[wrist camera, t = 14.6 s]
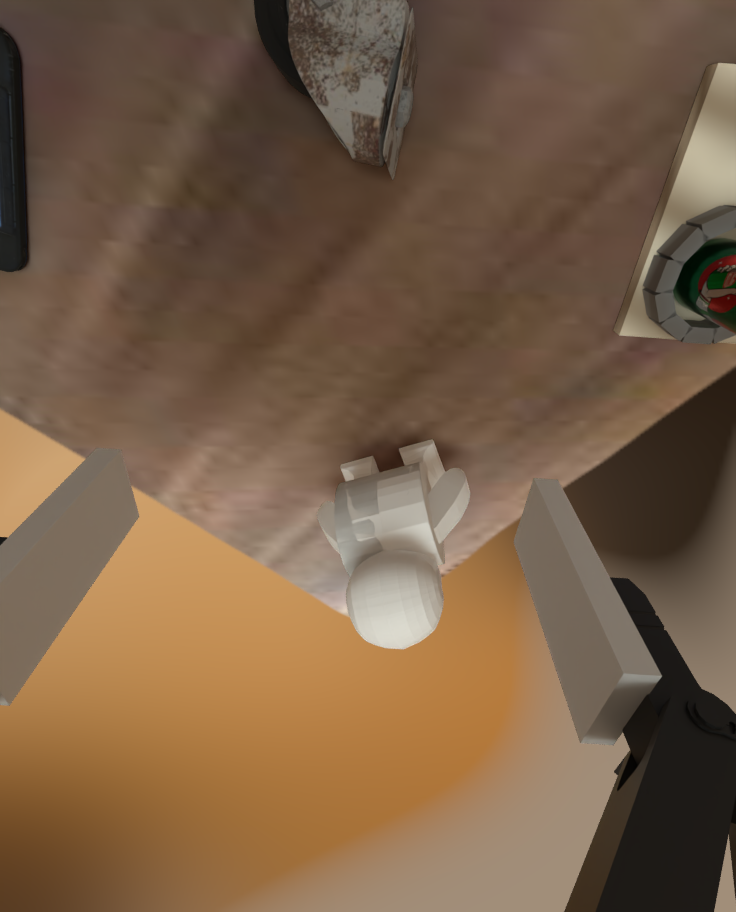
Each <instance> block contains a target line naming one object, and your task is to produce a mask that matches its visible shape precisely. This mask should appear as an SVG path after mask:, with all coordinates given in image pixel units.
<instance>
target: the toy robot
mask: <svg viewBox="0 0 736 912" xmlns="http://www.w3.org/2000/svg"><path fill="white" fill-rule="evenodd" d="M399 452H400V454H401V457H402V460H403V462H404V465H405V466H402V467H398V468H394V469H391V470H387V471H383V472H379V470H378V467H377V464H376V462H375V459H374V457H373V456H369V457H366V458H362V459H359V460H355V461H351V462H348V463H344V464H341V466H340V468H341V470H342V473H343V476H344V478H345V481H346V482H342V483H339V484H338V487H337V490H336V495H335V503H333V502H331V501H325V502H324V503H323V504H322V505H321V506H320V508H319V509H318V512H317V519H318V521H319V523H320V525H321V527H322V529H323V531H324V533H325V535H326V537H327V539H328V541H329V542H330V544H331V545H332V546H333V548H334V549H335V550H336V551H337V552H338V553H340V556H341V559H342V562H343V564H344V567H345V569H346V571H347V573H348V575H349V577H350V579H349V583H348V587H347V591H346V604H347V609H348V613H349V616H350V618H351V621H352V623H353V625H354V627H355V629H356V631H357V632H358V633H359V634H360V636H361V637H362V638H363V639H364V640H365V641H367V642H369V643H372V644H374V645H377V646H381V647H384V648H392V649H405V648H407V647H410V646H412V645H414V644H416V643H418V642H420V641H422V640H423V639H424V638H426V637H427V636H428V635H430V634H431V633H432V632H433V631H434V630H435V629H436V626H437V624H438V622H439V619H440V616H441V613H442V609H443V601H444V599H443V591H442V583H441V574H440V571H439V568H438V566H437V565H442V564H444V563H445V553H444V543H443V540H444V539H445V538H446V536H447V535H448V534H449V533H450V532H451V530H452V529H453V528H454V527H455V525H456V524H457V523H458V522H459V521H460V519H461V518H462V516H463V514H464V512H465V510H466V508H467V505H468V503H469V499H470V490H469V486H468V482H467V479H466V475H465V472H464V471H463V470H461V469H459V468H451V469H449V470H448V471H446V472H445V470H444V468H443V465H442V462H441V460H440V457H439V454H438V452H437V449H436V446H435V444H434V441H433V439H431V440H427V441H424V442H420V443H416V444H413V445H409V446H406V447H402V448H399Z"/></svg>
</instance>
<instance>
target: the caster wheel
mask: <svg viewBox="0 0 736 912" xmlns="http://www.w3.org/2000/svg"><path fill="white" fill-rule="evenodd" d="M254 8H255V17H256V22H257V26H258V31H259V33H260V36H261V39H262V41H263V43H264V46H265V48H266V50H267V52H268V53H269V55H270V56H271V58H272V59H273V61H274V63H275V64H276V66H277V67H278V69H279V70H280V71H281V73H282V74H283V75H284V76H285V78H286V79H287V80H288V82H289V83H290V84H291V85H292V86H294V87H295V88H296V89H297V90H298V91H299V92H301V93H303V94H304V95H306V96H308V97H309V98H312V99H313V100H314V102H315V103H316V105H317V106H318V107H319V109H320V110H321V112H322V113H323V115H324V116H325V118H326V120H327V122H328V124H329V125H330V127H331V129H332V131H333V132H334V134H335V135H336V137H337V138H338V139H339V141H340V142H341V144H342V145H343V146H344V147H345V149H346V150H347V151H348V152H349V153H350V155H351V157H352V159H353V161H356V162H361V163H365V164H370V165H375V166H380V167H382V166H383V165H384V163H385V162H386V165H387V167H388V170H389V173H390V175H391V178H392V180H393V179H394V177H395V172H396V167H397V163H398V158H399V153H400V148H401V144H402V139H403V134H404V129H405V126H406V125H407V123H408V122H409V119H410V115H411V111H412V105H413V93H412V92H413V87H414V82H415V77H416V73H417V67H418V65H417V52H416V39H415V27H414V14H413V7H412V10H411V12H410V16H409V6H408V2H407V1H406V0H254Z"/></svg>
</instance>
